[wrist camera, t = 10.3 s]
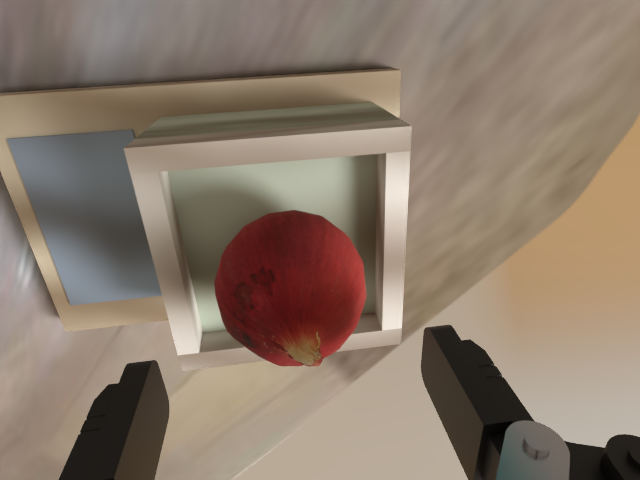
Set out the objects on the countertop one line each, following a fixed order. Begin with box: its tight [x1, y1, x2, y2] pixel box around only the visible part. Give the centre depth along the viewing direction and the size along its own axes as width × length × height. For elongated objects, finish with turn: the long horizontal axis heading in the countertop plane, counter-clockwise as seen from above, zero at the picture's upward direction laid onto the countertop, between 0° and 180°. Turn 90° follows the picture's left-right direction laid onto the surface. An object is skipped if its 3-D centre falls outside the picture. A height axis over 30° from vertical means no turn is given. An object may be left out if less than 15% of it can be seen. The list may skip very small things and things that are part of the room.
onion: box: [214, 210, 367, 366], centre depth 16 cm, size 6×6×8 cm
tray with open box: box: [0, 68, 412, 371], centre depth 22 cm, size 14×21×8 cm, turn 93°
